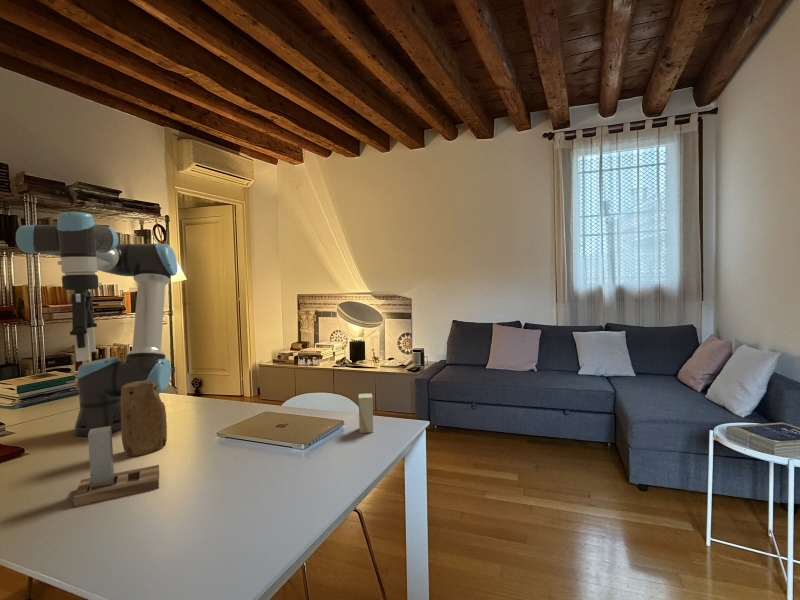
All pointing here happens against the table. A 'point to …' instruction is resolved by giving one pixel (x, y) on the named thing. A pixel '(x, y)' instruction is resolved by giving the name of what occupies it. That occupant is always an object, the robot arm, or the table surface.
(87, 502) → the socket block
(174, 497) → the table surface
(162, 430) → the block
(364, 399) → the box
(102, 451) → the steel bit
